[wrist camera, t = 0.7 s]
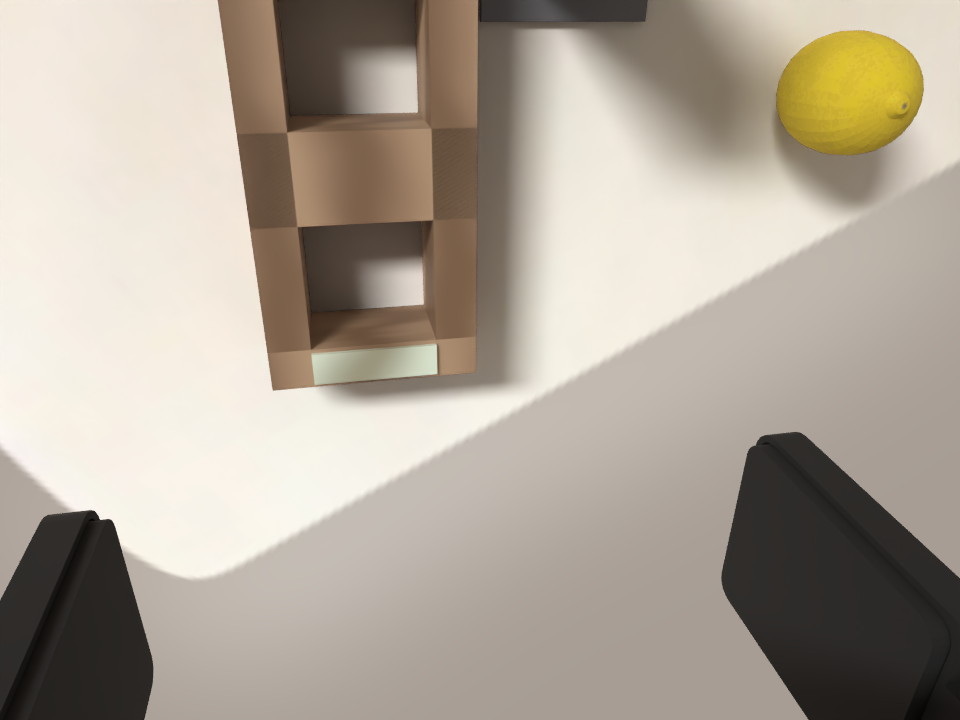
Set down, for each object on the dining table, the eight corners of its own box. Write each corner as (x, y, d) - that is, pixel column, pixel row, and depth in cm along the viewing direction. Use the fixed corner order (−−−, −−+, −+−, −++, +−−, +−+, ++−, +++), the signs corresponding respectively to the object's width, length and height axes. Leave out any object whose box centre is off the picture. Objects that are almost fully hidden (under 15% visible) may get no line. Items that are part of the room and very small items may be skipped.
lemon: (794, 157, 40) (895, 194, 33) (726, 100, 38) (820, 126, 31) (864, 68, 39) (986, 86, 32) (798, 2, 36) (914, 6, 29)
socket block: (458, -81, 32) (479, -90, 28) (460, 335, 41) (476, 374, 37) (218, -86, 30) (203, -98, 26) (276, 349, 39) (272, 392, 35)
